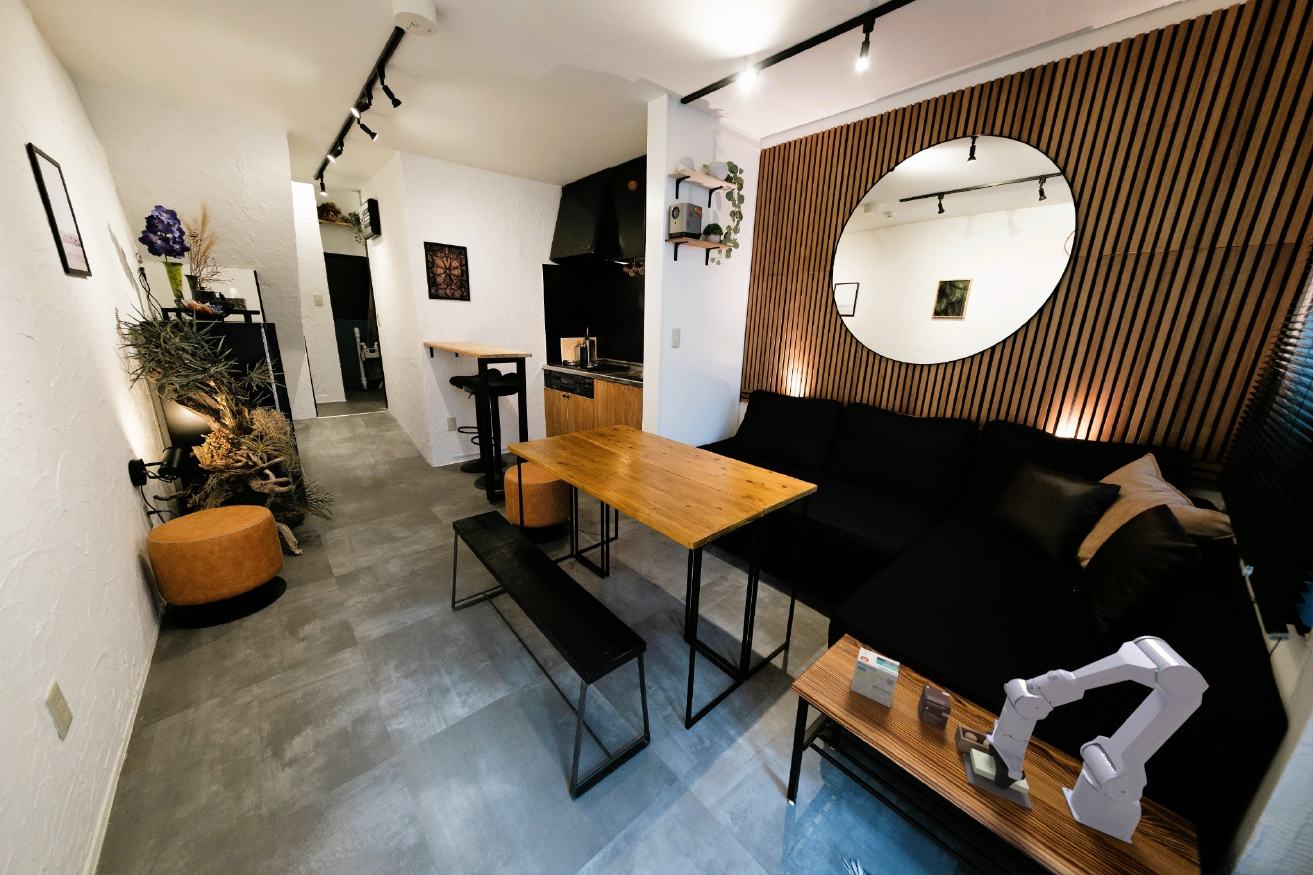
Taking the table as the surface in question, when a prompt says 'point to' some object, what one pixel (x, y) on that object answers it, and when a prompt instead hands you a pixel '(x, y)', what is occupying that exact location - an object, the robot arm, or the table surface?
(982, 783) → the mat
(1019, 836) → the table surface
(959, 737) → the crate
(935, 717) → the box
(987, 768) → the lid
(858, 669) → the light bulb box
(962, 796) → the table surface
